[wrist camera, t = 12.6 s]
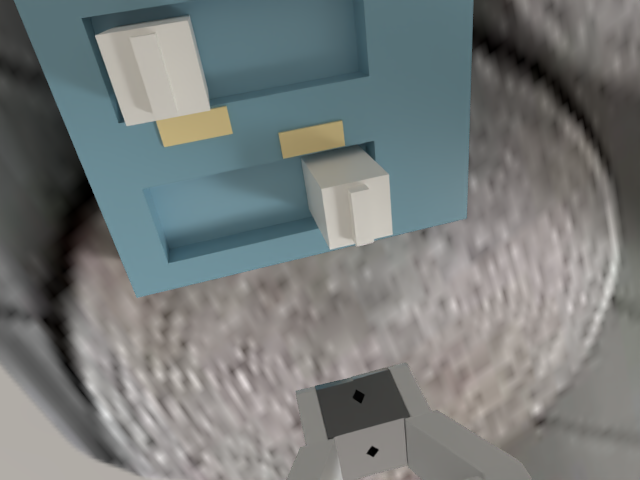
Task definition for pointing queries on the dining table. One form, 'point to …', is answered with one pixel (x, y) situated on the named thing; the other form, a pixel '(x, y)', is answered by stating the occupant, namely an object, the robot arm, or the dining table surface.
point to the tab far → (348, 196)
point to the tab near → (155, 69)
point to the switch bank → (263, 123)
